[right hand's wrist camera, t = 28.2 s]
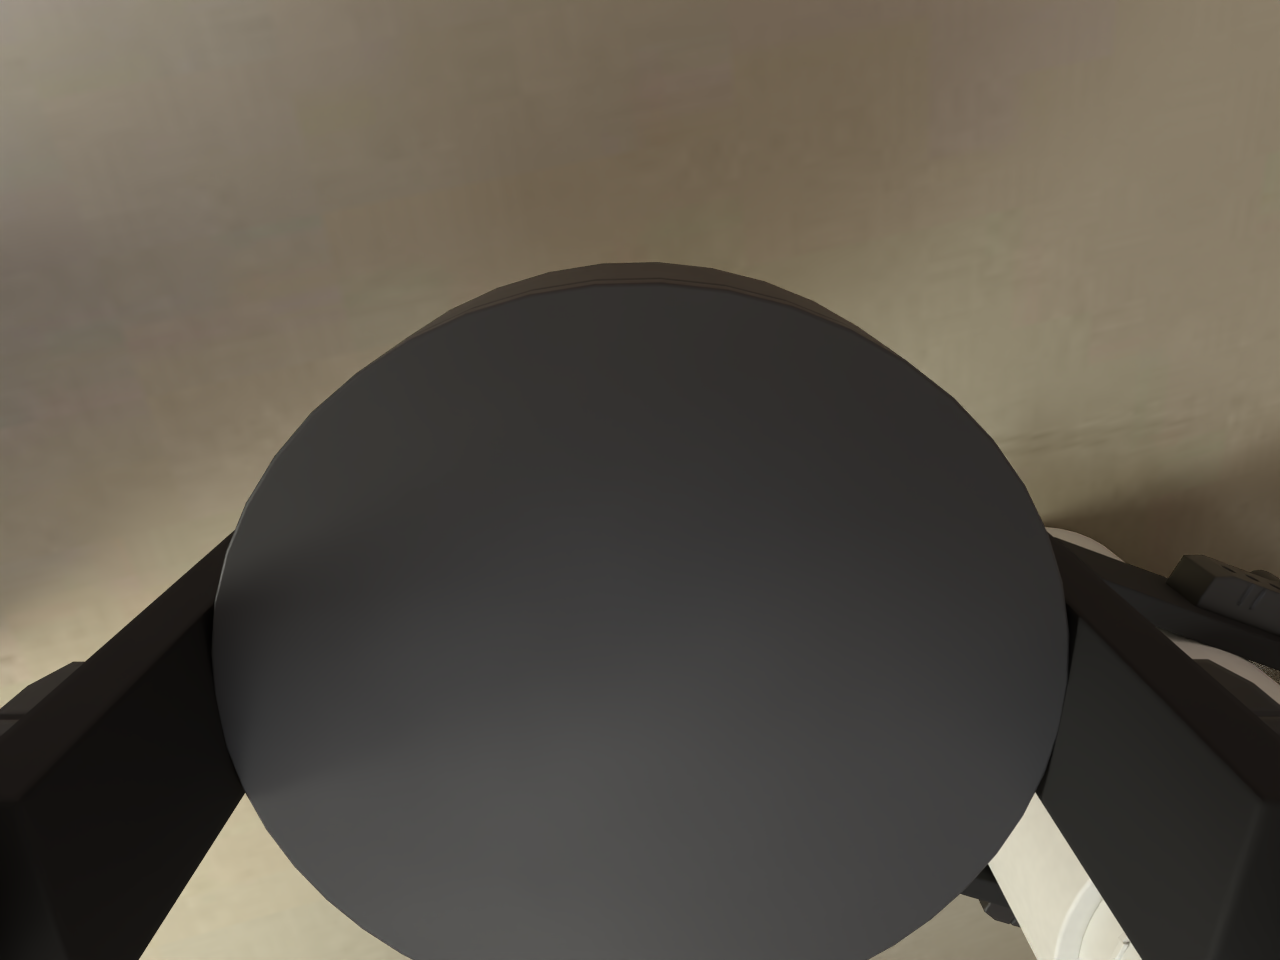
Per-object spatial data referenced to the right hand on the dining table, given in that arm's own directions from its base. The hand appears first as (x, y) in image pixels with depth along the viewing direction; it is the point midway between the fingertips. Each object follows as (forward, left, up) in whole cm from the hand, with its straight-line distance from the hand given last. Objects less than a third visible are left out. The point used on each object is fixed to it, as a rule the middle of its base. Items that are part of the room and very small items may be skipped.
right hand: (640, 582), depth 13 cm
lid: (0, 0, +3) cm, 3 cm away
